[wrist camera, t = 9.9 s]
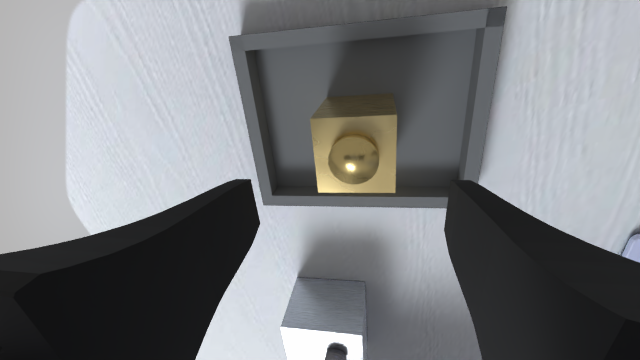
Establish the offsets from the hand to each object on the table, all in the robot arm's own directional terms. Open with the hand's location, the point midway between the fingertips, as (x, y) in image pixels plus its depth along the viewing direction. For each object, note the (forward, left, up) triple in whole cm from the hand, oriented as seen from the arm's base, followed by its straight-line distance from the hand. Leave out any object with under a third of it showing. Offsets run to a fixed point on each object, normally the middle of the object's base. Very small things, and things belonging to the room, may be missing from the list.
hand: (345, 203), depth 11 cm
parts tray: (0, -1, -9) cm, 9 cm away
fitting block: (0, 0, -9) cm, 9 cm away
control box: (+3, +17, -9) cm, 20 cm away
